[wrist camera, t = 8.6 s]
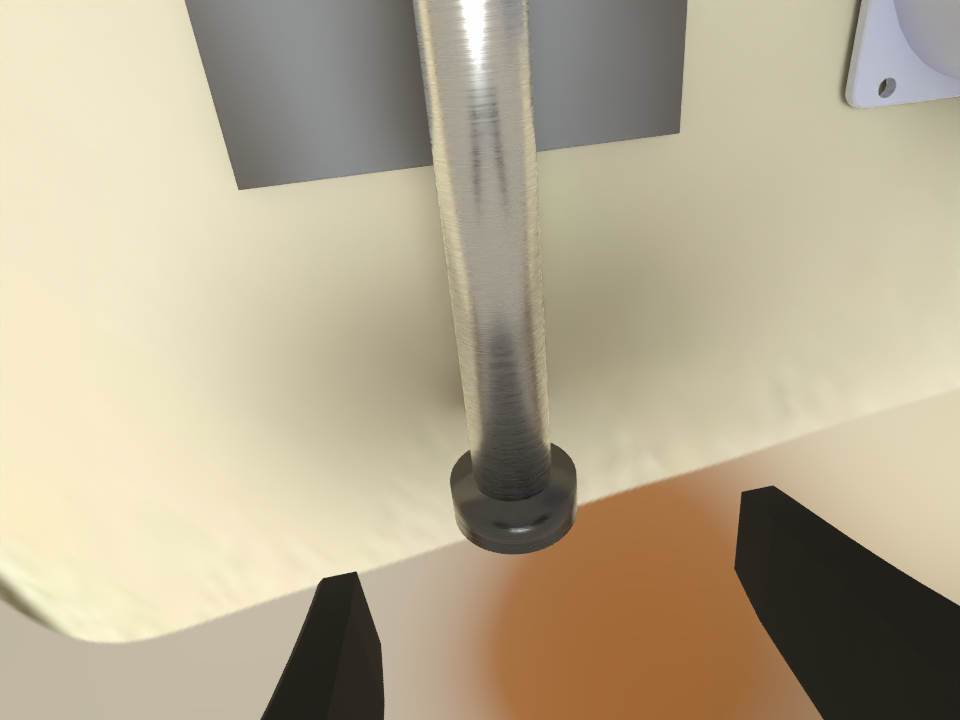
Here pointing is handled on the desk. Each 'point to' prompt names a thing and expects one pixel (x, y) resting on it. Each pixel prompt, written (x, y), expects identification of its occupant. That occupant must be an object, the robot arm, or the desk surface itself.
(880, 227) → the desk surface
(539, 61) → the bearing block
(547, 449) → the shaft
